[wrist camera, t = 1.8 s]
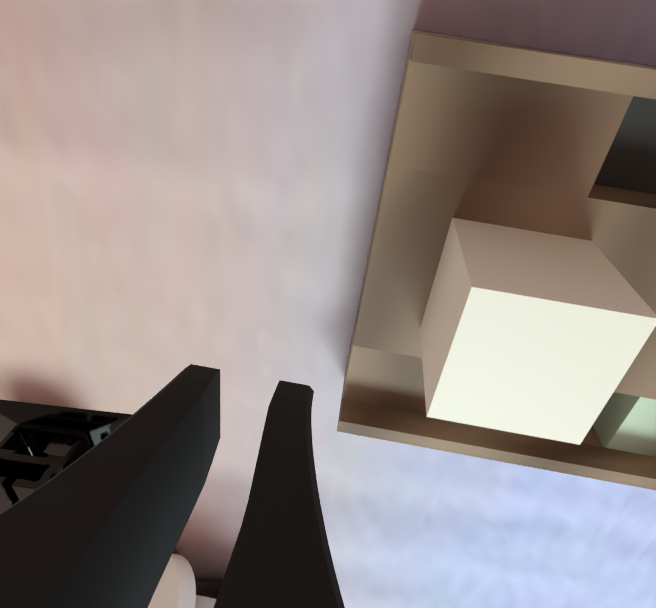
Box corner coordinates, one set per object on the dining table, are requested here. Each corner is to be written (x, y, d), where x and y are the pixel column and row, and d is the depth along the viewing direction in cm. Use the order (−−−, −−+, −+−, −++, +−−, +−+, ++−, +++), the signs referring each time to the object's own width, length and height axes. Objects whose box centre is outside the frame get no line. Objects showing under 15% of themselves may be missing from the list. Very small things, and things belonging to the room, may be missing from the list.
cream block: (592, 241, 14) (660, 319, 11) (539, 350, 17) (579, 444, 13) (452, 217, 15) (471, 286, 11) (419, 328, 17) (426, 416, 13)
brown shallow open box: (1040, 125, 13) (1207, 154, 10) (738, 449, 21) (790, 515, 18) (412, 29, 14) (416, 33, 11) (344, 378, 21) (336, 431, 19)
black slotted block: (161, 401, 24) (118, 473, 21) (180, 486, 28) (147, 560, 25) (-53, 376, 26) (-132, 440, 22) (-6, 461, 29) (-66, 528, 26)
